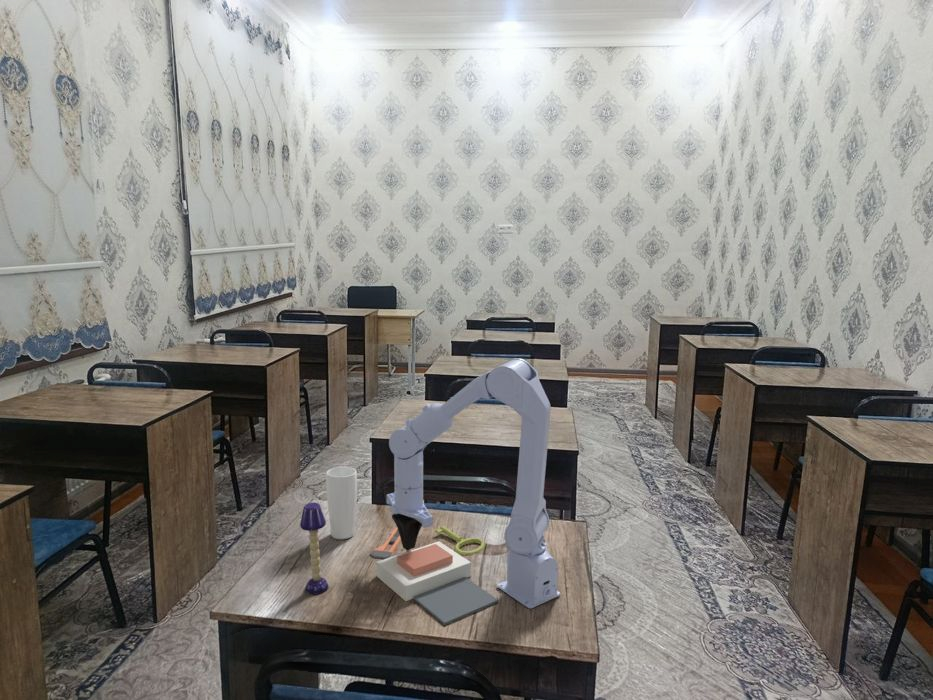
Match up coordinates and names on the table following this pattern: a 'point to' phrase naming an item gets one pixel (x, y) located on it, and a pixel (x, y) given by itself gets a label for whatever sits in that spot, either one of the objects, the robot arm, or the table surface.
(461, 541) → the key
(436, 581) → the white rectangular block
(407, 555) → the pink rubber eraser
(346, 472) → the drinking glass
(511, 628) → the table surface
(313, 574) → the toy lamp
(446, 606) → the mat
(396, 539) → the utility knife
